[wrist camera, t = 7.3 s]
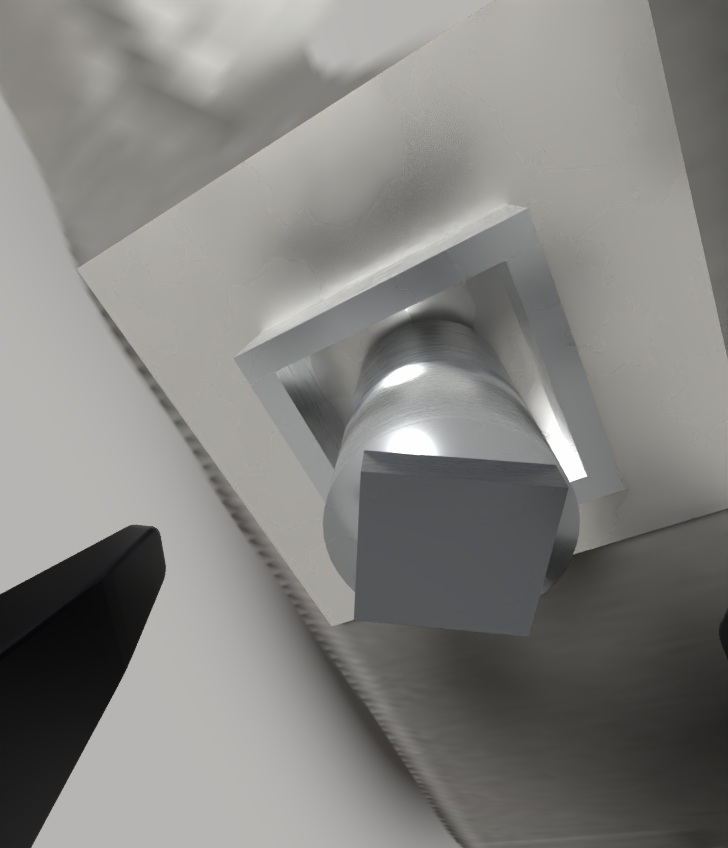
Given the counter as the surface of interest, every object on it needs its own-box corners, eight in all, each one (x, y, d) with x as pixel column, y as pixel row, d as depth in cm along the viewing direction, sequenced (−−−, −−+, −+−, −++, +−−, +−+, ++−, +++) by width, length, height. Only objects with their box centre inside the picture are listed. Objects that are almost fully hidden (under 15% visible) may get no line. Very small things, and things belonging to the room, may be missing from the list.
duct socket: (747, 488, 16) (818, 553, 13) (334, 614, 21) (320, 683, 18) (618, -73, 11) (693, -169, 8) (88, 266, 15) (11, 284, 12)
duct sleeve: (518, 324, 14) (628, 451, 7) (493, 462, 16) (559, 667, 9) (360, 315, 14) (316, 427, 7) (355, 451, 16) (316, 643, 9)
